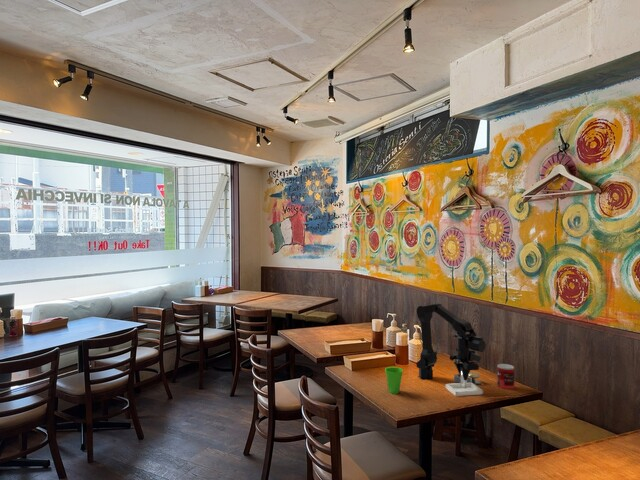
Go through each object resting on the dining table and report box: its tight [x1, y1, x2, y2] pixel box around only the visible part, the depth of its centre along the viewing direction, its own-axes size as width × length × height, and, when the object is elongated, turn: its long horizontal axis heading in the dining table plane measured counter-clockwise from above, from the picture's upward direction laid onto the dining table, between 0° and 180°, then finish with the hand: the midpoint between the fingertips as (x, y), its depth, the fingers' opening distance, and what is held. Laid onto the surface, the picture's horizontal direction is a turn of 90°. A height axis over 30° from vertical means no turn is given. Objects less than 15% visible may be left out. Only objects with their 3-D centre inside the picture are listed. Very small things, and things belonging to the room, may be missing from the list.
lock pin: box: [461, 371, 467, 389], centre depth 202 cm, size 3×3×9 cm
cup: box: [384, 366, 404, 395], centre depth 203 cm, size 9×9×11 cm
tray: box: [445, 382, 484, 397], centre depth 202 cm, size 14×11×2 cm
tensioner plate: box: [452, 371, 485, 386], centre depth 214 cm, size 13×9×5 cm
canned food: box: [496, 363, 515, 391], centre depth 208 cm, size 8×8×11 cm
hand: (463, 378), depth 202 cm, fingers closed on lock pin, 3 cm apart
